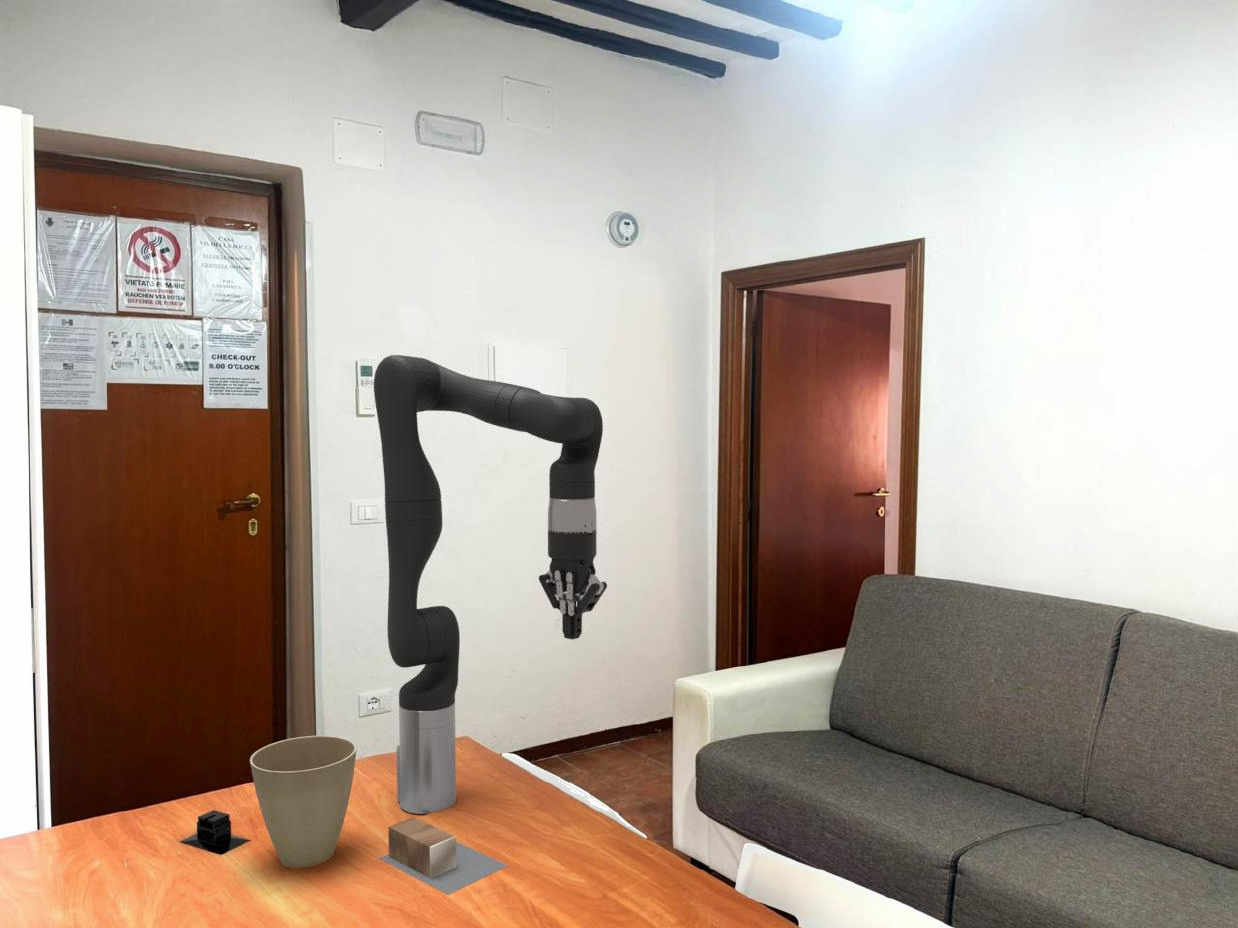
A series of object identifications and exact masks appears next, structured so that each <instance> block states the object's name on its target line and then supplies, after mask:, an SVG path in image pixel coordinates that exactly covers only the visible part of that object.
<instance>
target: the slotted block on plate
mask: <svg viewBox="0 0 1238 928" xmlns="http://www.w3.org/2000/svg"><path fill="white" fill-rule="evenodd" d="M230 817H231V816H230V814H229V813H226V812H222V811H218V810H215V809H212V810H211V811H209V812H205V813H204V814H201V815H199V816H197V821H196V833H194V834H192V835H190V836H188V837H186V838H184V839H181V840H179V841H178V843H180V844H184V845H187V846H191V847H193V848H197V849H200V850H204V851H206V852H210V853H213V854H216V855H220V856H222V855H224V854H226V853H228V852H230V851H232V850H234V849H236V848H238V847H240V846H243V845H245V844H247V843H249V842H250V841H251V839H248V838H245V837H242V836H238V835H234V834H232V820H230Z"/></svg>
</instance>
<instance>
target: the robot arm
mask: <svg viewBox="0 0 1238 928" xmlns="http://www.w3.org/2000/svg"><path fill="white" fill-rule="evenodd" d="M376 367H377V368H376V370H375V373H374V378H373V393H374V402H375V410H376V415H377V416H376V417H377V421H378V428H379V435H380V442H381V453H382V455H381V456H382V468H383V481H384V511H385V512H384V513H385V524H386V525H385V528H386V537H387V538H386V540H387V553H388V554H387V557H388V559H387V560H388V599H387V642H388V650H389V653H390V656H391V659H392V660H393V662H394V663H395V665H396V666H397V667H400V668H403V669H404V668H412V667H418V666H423V668H422V669H421V670H420V671H419V673H418V674H416V675H415V676H414V677H413V678H412V679H409V681H407V682H405V683H404V684H403V685H402V686H400V688H399V692H398V711H399V712H398V724H399V731H398V733H399V745H397V746H396V801H397V802H398V803H399V806H400V808H401V810H403V811H405V812H407V813H410V814H417V815H429V814H431V813H438V812H441V811H444V810H447V809H449V808H451V807H452V806H454V805H455V804H456V802H457V799H456V797H457V789H456V787H457V786H456V784H457V783H456V782H457V781H456V780H457V779H456V777H457V775H456V773H457V771H456V768H457V766H456V765H457V763H456V691H457V690H458V685H459V667H460V666H459V661H460V645H461V644H460V641H461V640H460V636H461V634H460V628H459V622H458V619H457V616H456V614H455V613H454V611H453V610H452V608H450V607H448V606H446V605H437V606H436V605H434V606H428V607H421V608H418V591H419V585H420V582H421V581H420V580H421V578H422V574H423V572H424V570H425V568H426V566H427V563H428V562H429V560H430V558H431V556H432V554H433V553H434V552H433V551H434V550H435V549H436V546H437V543H438V541H439V539H440V537H441V535H442V534H441V533H442V531H443V506H442V504H443V503H442V492H441V487H440V485H439V484H440V483H439V480H438V477H437V476H436V474H435V471H434V469H433V468H432V466H431V463H430V462H429V460H428V458H427V456H426V454H425V452H424V450H423V447H422V445H421V440H420V436H419V426H418V413H421V412H423V413H424V412H433V411H435V412H438V411H439V412H454V413H460V414H462V415H463V414H464V415H467V416H470V417H472V418H475V419H477V420H479V421H481V422H484V423H486V424H489V425H492V426H496V427H500V428H504V429H508V430H512V431H516V432H522V433H527V434H529V435H531V436H534V437H537V438H539V439H541V440H544V441H547V442H552V443H556V444H561V451H560V456H559V458H558V459H556V460H555V461H553V462H552V463H551V465H550V467H549V476H548V477H549V479H548V481H549V482H548V484H549V485H548V486H549V492H548V493H549V496H548V497H549V500H548V501H549V502H548V509H547V557H549V558H550V559H551V561H550V563H549V570H548V571H547V572H545V573H544V574H540V575H539V577H538V581H539V583H540V585H541V587H542V588H543V591H544V593H545V595H546V597H547V599H548V601H549V603H550V604H551V606H552V608H553V609H554V610H555V609H557V610H558V611H559V612H560V614H561V616H562V618H561V619H562V622H561V623H562V631H561V632H562V634H563V637H564V639H567V640H576V639H579V638H580V637H581V635H582V634H583V633H582V632H583V614H584V613H589V612H592V611H593V610H594V608H595V607H596V605H597V603H598V602H599V600H600V599H601V597H602V596H603V594H604V592H605V591H606V590H607V587H608V584H607V582H606V581H601V580H600V579H599V578H598V577H597V576H596V573H597V571H596V568H595V565H594V564H595V563H594V560H595V557H596V556H597V506H596V499H595V497H596V482H595V481H596V480H595V479H596V477H595V470H596V466H597V462H598V460H599V453H600V449H601V443H602V438H603V431H604V429H603V428H604V421H603V416H602V412H601V410H600V408H599V406H598V405H597V404H596V403H595V401H593V400H591V399H590V398H585V397H570V396H568V397H567V396H557V395H551V394H545V393H542V392H540V391H539V390H537V389H534V388H532V387H528V386H522V385H517V384H513V383H507V382H503V381H502V382H501V381H497V380H489V379H481V378H476V377H473V376H469V375H465V374H462V373H459V372H456V371H454V370H451V369H449V368H447V367H446V366H445V367H444V366H442V365H441V364H438V363H436V362H434V361H432V360H430V359H427V358H424V357H417V356H410V355H402V354H392V355H388V356H386V357H384V358H383V359H382V360H381V361H380V362H379V364H378V365H377V366H376Z"/></svg>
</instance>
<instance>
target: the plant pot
mask: <svg viewBox="0 0 1238 928" xmlns="http://www.w3.org/2000/svg"><path fill="white" fill-rule="evenodd" d="M356 756H357V744H356V743H355V742H354V741H352V740H351V739H348V738H345V737H341V736H336V735H308V736H307V735H306V736H298V737H293V738H287V739H283V740H280V741H277V742H274V743H270V744H267V745H265V746H264V747H261V748H260V749H258V750H256V751H255V752H254V753H253V754H252V755H251V756H250V758H249V763H250V768H251V774H252V778H253V779H252V780H253V785H254V789H255V795H256V797H257V803H258V805H259V809H260V811H261V815H262V818H263V821H264V825H265V827H266V829H267V832H268V835H269V838H270V840H271V843H272V845H273V848H274V850H275V852H276V854H277V856H278V858H279V861H280V863H281V864H282V865H283V866H284V867H285V868H289V869H293V868H308V867H313V866H317V865H321V864H323V863H325V862H327V861H329V860H330V859H331V858H332V857H333V855H334V854H335V851H336V847H337V845H338V843H339V842H338V841H339V838H340V836H341V832H342V830H343V829H342V828H343V826H344V822H345V819H346V814H347V810H348V806H349V801H350V796H351V792H352V787H353V781H354V780H353V779H354V775H355V774H354V773H355V765H356Z"/></svg>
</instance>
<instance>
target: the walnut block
mask: <svg viewBox="0 0 1238 928" xmlns="http://www.w3.org/2000/svg"><path fill="white" fill-rule="evenodd" d="M456 842H457V836H455V835H453V834H451V833H448V832H446V831H445V830H442V829H440V828H438V827H435V826H433V825H431V824H429V823H427V822H425V821H423V820H420V819H418V818H416V817H411V818H408V819H406V820H403V821H401V822H398V823H395V824H392V825H390V826H388V854H389V857H390V858H392V859H394V860H396V861H398V862H400V863H402V864H404V865H406V866H408V867H410V868H411V869H413V870H415V871H417V872H419V873H421V874H423V875H425V876H427V877H429V878H431V879H432V878H434V877H436V876H438V875H440V874H443V873H445V872H447V871H449V870H451V869H454V868H456Z"/></svg>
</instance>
